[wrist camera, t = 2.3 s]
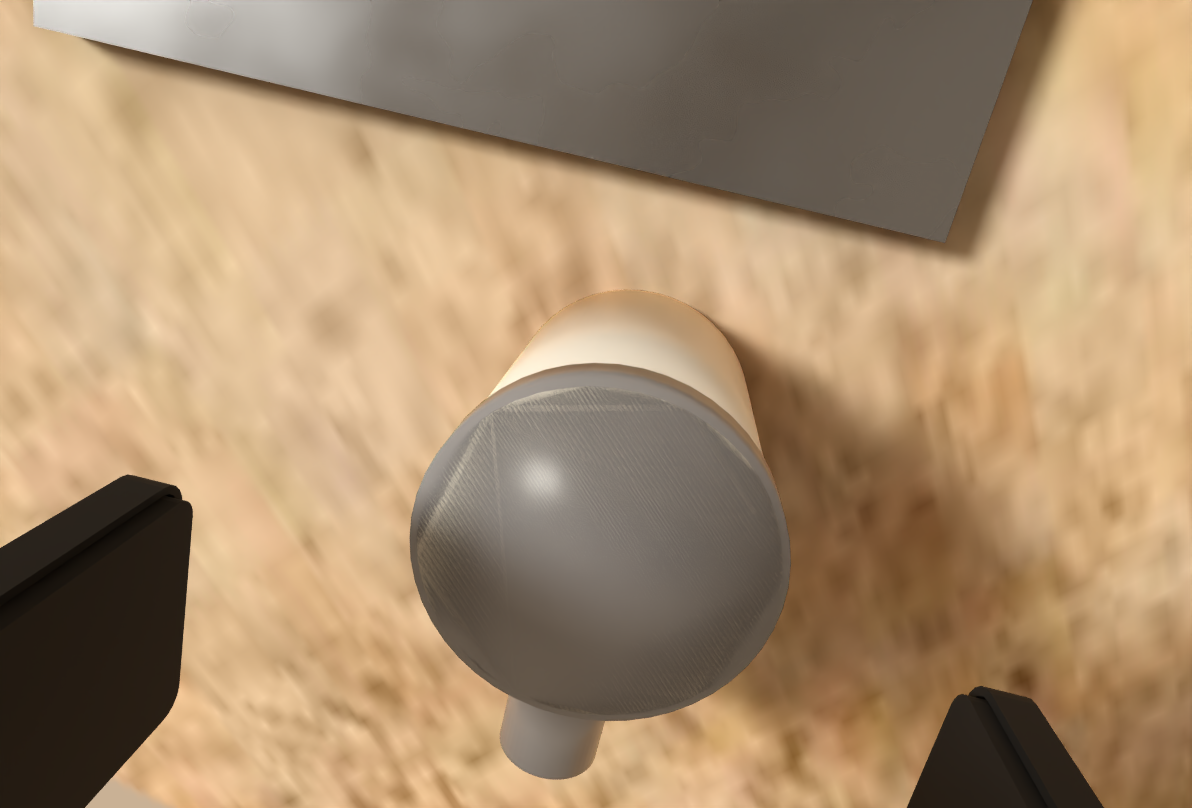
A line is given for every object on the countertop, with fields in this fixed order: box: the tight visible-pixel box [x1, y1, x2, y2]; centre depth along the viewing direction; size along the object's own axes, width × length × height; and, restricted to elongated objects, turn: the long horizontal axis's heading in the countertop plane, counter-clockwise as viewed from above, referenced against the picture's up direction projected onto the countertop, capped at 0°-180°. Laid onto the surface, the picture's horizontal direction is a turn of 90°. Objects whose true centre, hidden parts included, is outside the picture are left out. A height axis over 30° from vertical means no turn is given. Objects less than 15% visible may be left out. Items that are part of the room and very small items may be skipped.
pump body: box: [410, 290, 791, 779], centre depth 15 cm, size 5×8×7 cm
